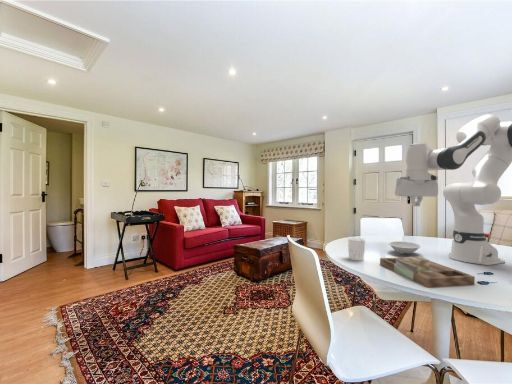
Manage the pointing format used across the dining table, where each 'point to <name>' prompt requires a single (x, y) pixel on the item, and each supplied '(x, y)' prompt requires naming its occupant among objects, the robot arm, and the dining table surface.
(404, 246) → the dish
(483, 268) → the dining table surface
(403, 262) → the brown wooden compartment tray
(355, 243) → the white cup
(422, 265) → the maple block
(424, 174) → the robot arm
